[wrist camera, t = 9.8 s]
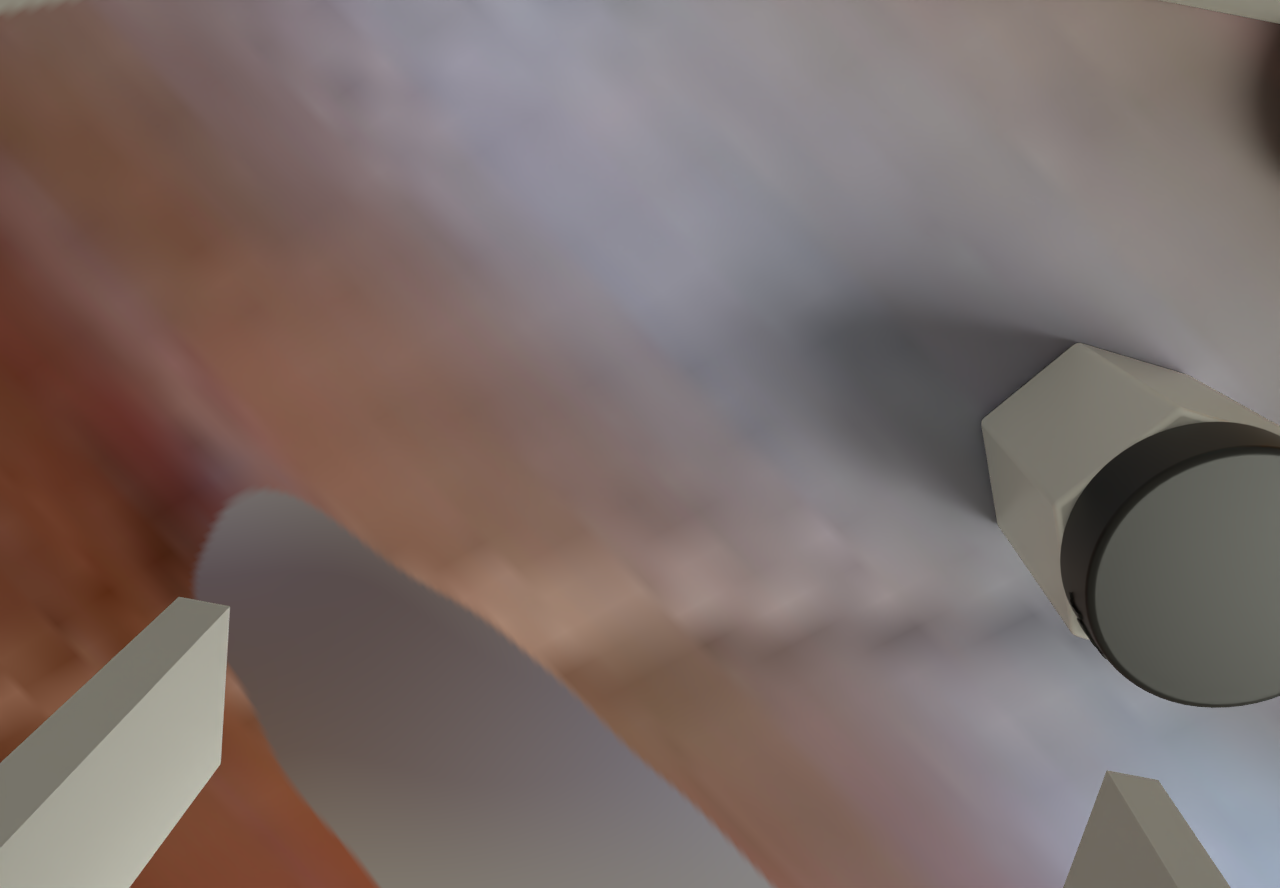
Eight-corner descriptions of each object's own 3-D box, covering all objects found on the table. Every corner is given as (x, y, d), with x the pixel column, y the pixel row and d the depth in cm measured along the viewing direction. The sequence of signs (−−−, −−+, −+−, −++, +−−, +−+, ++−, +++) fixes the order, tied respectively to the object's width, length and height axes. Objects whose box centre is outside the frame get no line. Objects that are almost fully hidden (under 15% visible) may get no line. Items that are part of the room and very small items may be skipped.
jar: (941, 513, 42) (1026, 664, 31) (1020, 320, 40) (1145, 406, 28) (1153, 576, 42) (1317, 748, 31) (1245, 387, 40) (1460, 500, 28)
